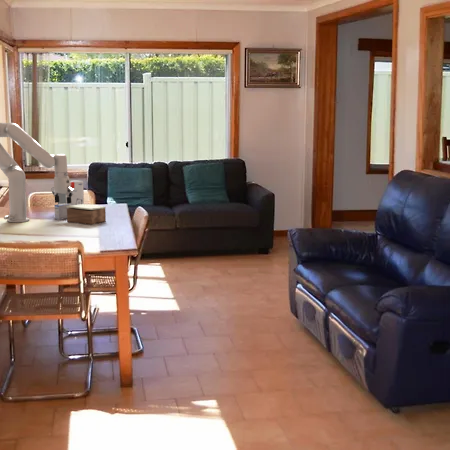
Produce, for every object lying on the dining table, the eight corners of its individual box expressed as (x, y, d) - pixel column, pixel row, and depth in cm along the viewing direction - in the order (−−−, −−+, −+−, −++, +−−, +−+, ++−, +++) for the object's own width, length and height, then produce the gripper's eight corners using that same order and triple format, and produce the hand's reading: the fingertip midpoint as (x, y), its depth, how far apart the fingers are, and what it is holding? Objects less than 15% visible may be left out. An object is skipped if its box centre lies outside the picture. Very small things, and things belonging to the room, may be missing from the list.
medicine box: (65, 217, 438) (64, 203, 437) (69, 218, 435) (69, 204, 434) (54, 218, 432) (54, 204, 431) (59, 219, 429) (58, 205, 428)
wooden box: (91, 225, 413) (90, 211, 412) (67, 221, 422) (66, 208, 421) (105, 221, 424) (105, 208, 423) (82, 218, 433) (81, 205, 432)
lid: (90, 210, 411) (90, 208, 411) (66, 207, 420) (66, 205, 420) (105, 208, 423) (105, 206, 422) (81, 205, 432) (81, 204, 432)
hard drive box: (65, 214, 448) (64, 182, 444) (57, 213, 452) (56, 181, 449) (84, 211, 460) (83, 180, 456) (76, 210, 465) (75, 179, 461)
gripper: (76, 174, 428) (78, 202, 431) (54, 173, 437) (56, 201, 440) (67, 176, 422) (69, 204, 425) (46, 174, 430) (48, 203, 433)
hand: (63, 202), depth 432 cm, fingers open, 9 cm apart
